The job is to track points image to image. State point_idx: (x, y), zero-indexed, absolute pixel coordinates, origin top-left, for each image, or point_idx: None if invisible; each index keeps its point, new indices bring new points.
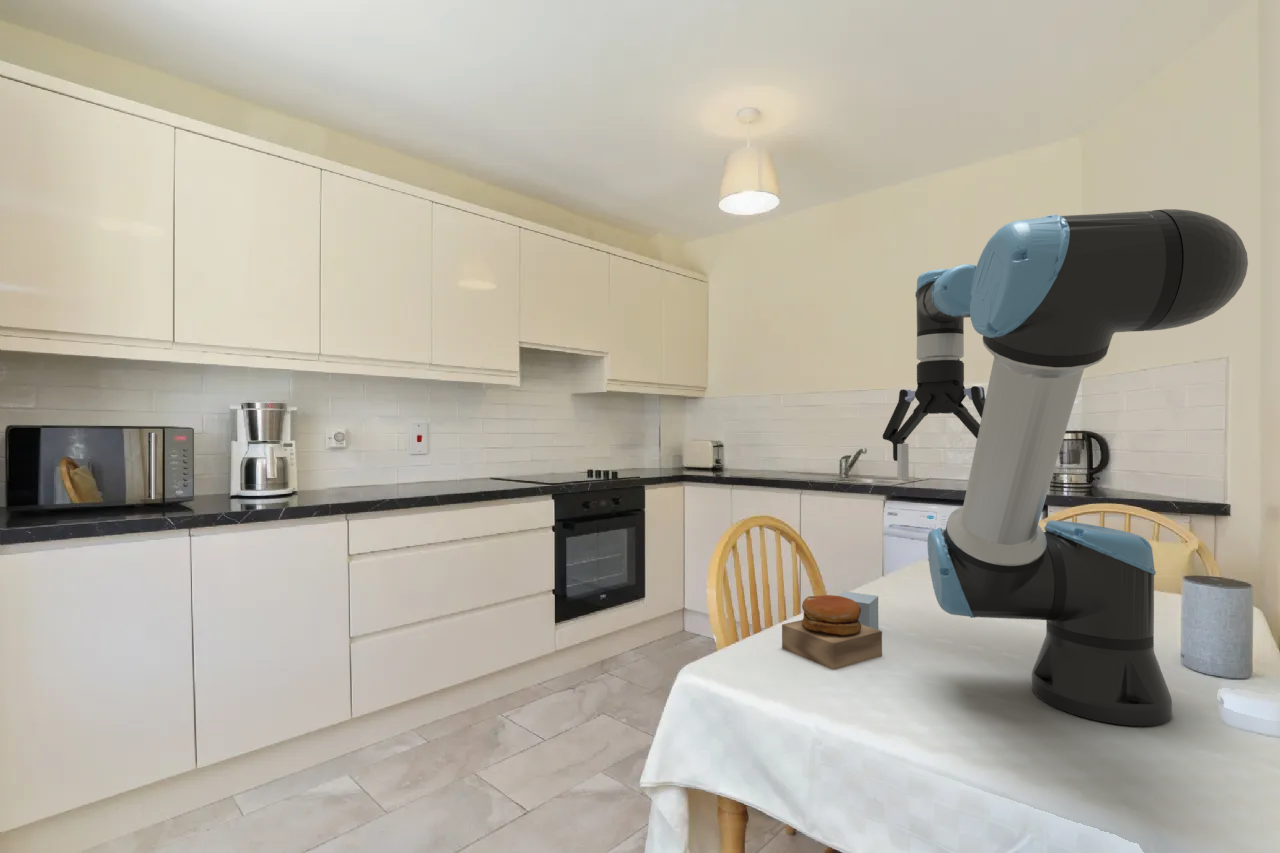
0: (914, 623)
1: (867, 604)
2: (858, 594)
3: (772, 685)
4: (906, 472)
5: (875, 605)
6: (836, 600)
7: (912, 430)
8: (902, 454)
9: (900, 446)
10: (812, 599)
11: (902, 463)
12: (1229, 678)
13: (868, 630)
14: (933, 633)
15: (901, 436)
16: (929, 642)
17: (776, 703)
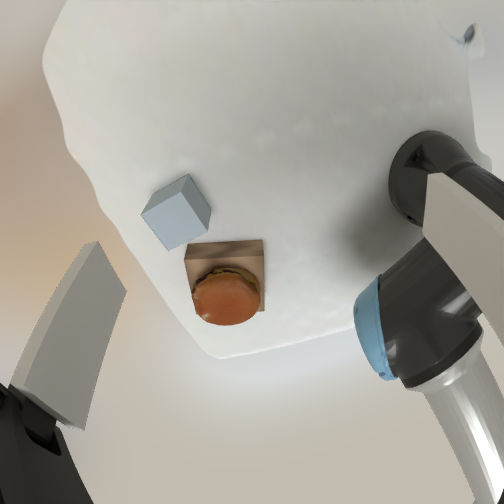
0: (193, 111)
1: (205, 231)
2: (161, 210)
3: (260, 336)
4: (95, 275)
5: (191, 200)
6: (232, 308)
7: (37, 486)
8: (88, 374)
9: (83, 418)
10: (211, 317)
11: (101, 337)
12: (469, 40)
13: (254, 265)
14: (238, 125)
15: (73, 466)
16: (260, 160)
17: (282, 345)
